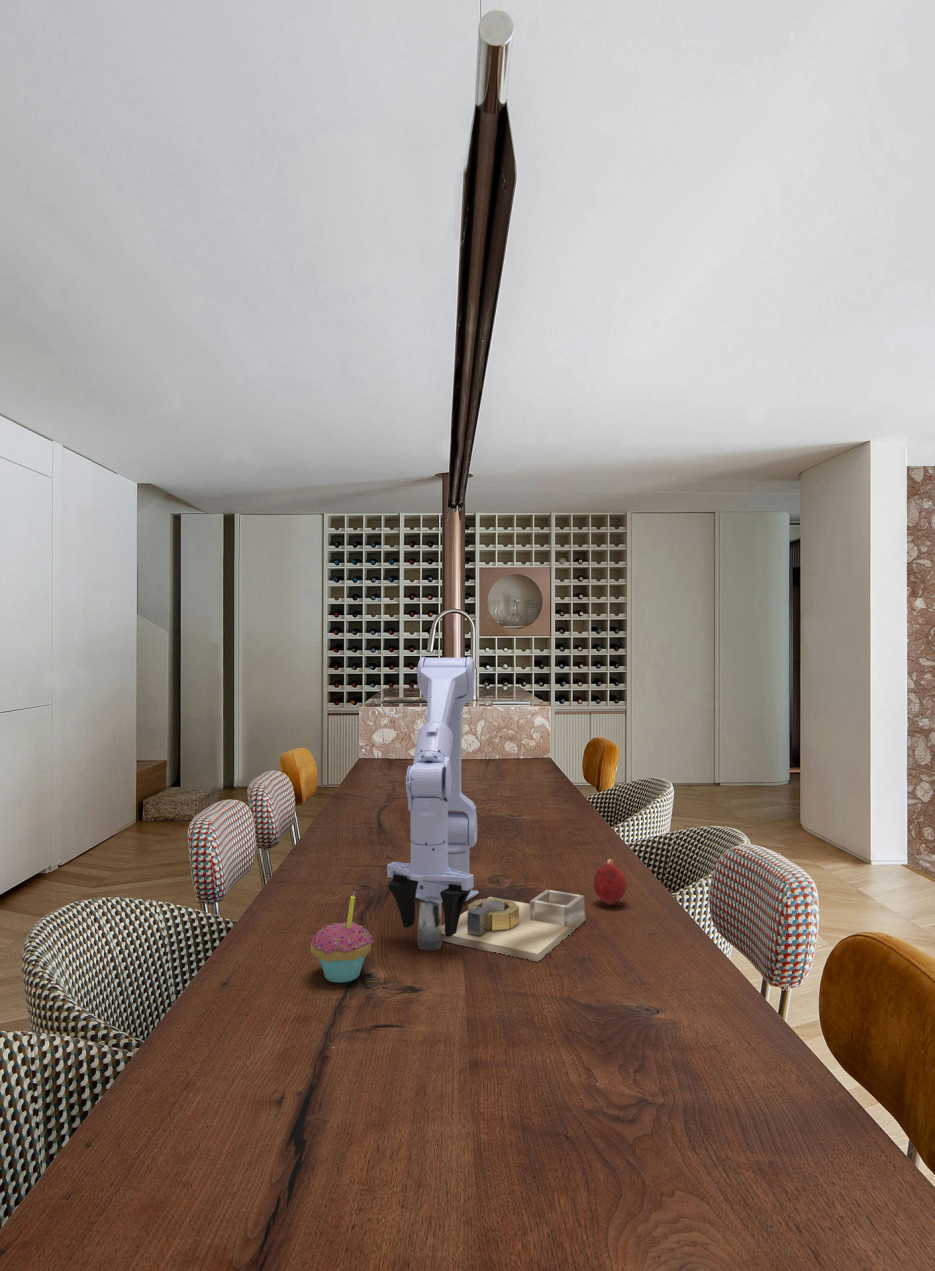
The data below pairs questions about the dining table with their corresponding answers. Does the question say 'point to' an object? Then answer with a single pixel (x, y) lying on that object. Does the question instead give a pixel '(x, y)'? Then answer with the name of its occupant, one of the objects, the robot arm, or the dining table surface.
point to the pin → (429, 923)
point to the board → (526, 926)
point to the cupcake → (342, 948)
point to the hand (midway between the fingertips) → (429, 929)
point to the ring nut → (491, 917)
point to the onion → (609, 883)
